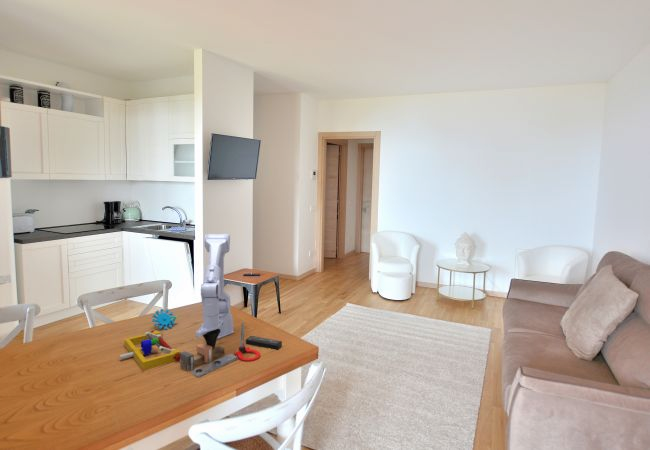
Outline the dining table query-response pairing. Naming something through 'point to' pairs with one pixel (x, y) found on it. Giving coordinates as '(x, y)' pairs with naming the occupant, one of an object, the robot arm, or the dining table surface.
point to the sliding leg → (205, 352)
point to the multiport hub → (264, 342)
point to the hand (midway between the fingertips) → (211, 348)
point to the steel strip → (214, 365)
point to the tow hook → (245, 349)
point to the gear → (163, 319)
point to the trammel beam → (197, 358)
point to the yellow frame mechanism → (146, 347)
